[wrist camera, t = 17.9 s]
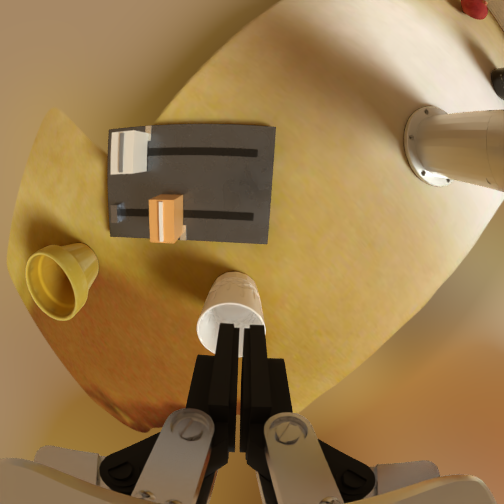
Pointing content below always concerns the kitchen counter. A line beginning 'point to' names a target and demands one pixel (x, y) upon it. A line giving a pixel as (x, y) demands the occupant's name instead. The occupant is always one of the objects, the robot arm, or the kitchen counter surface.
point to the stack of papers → (497, 10)
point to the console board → (199, 181)
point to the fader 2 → (166, 218)
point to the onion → (475, 8)
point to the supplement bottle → (498, 81)
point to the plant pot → (61, 278)
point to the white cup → (229, 308)
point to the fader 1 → (129, 152)
